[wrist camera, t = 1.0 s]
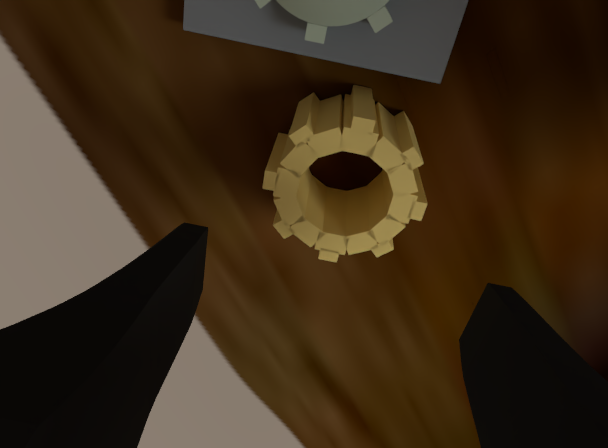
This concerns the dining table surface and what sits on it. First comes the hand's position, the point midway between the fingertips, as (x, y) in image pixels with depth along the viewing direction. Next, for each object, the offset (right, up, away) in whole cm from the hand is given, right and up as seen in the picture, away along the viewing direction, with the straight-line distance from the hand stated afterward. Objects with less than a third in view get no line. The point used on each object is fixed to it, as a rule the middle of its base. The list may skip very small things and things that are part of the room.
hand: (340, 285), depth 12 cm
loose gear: (+1, +4, +7) cm, 8 cm away
